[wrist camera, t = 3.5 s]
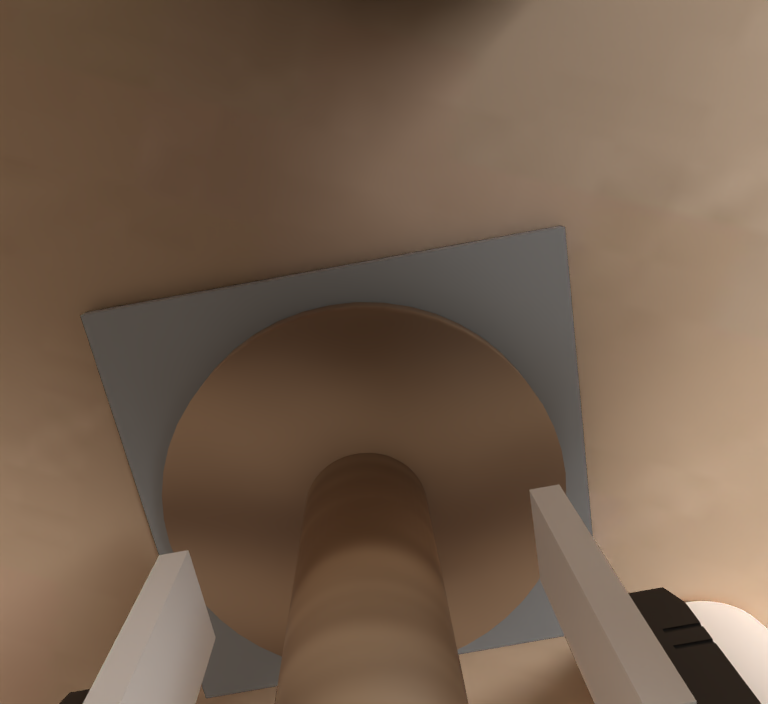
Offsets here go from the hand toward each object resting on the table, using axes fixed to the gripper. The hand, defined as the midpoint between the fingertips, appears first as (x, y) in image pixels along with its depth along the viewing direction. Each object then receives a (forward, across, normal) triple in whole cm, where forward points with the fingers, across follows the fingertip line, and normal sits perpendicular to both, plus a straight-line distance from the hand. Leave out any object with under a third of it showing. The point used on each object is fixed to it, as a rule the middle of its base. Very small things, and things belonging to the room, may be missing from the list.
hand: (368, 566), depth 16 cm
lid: (+4, 0, 0) cm, 4 cm away
